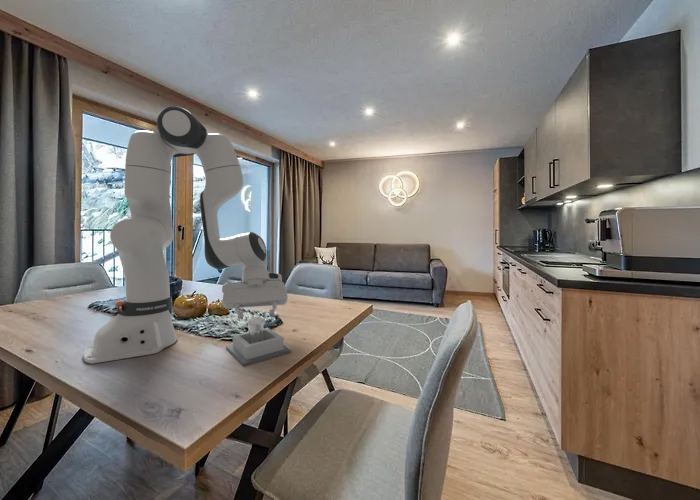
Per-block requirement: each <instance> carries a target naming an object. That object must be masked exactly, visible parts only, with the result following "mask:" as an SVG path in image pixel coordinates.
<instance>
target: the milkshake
mask: <svg viewBox="0 0 700 500" xmlns="http://www.w3.org/2000/svg"><path fill="white" fill-rule="evenodd" d="M265 318H266V316H264V318H262V317H259V316H253V317H251V318H250V319H248V320H247V327H248V332H249V340H250V344H252V343H256V342H260V341H262V339H263V328H264V325H265V324H264V323H265Z"/></svg>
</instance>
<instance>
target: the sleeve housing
mask: <svg viewBox="0 0 700 500" xmlns="http://www.w3.org/2000/svg"><path fill="white" fill-rule="evenodd" d="M284 341H285V337H283V336H281V335H280V334H278V333H277V332H276V331H274V330H272V329H271V328H269V327H263V339H262V341H260V342H256V343H252V344H250V340H249V331H246V332H240V333H237V334H232V344H230V345H226V346H225V349H226V351H228V352H229V354H231V355H232V356H233V358H234V359H235V360H236V361H237V362H238V363H239V364H240V365H242V367H245V366H248V365H252V364H256V363H259V362H262V361H265V360H269V359H273V358H278V357H280V356H283V355H286V354H290V353H291V352H292V349H290V348H289V347H287V346H286V345H285V343H284Z"/></svg>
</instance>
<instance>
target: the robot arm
mask: <svg viewBox="0 0 700 500" xmlns="http://www.w3.org/2000/svg"><path fill="white" fill-rule="evenodd" d="M156 127H157V130H153V131H151V130H137V131H135V132H133V133H132V134H131V135H130V137H129V141H128V143H127V144H128V145H127V150H126V153H125V154H126V155H125V164H124V165H125V168H124V171H125V172H124V196H125V198H126V200H127V203H128V207H129V211H130V216H129V217H127V218H124V219H122V220H120V221H118V222H117V223H115V224H114V225H113V226H112V228H111V231H110V235H109V239H110V241H111V244H112V245H113V247H114V248H115V249H116V250H117V253H118V257H119V260H120V262H121V266H122V269H123V274H124V286H125V300H117V301H116V302H115V308H116V309H117V315H116V316H114V317H113V318H112V319H110V320H109V321H107V323H105V324H103V325H102V326H101V327H100V328H98V329H97V331H96V332H95V335H94V338H93V343H92V345H89V346H88V347H87V348H85V349H84V351H83V356H82V357H83V361H84V362H85V363H87V364H92V365H93V364H98V363H105V362H111V361H117V360H118V361H119V360H123V359H129V358H136V357H141V356H148V355H153V354H157V353H159V352H161V351H162V350H163V349H165V348H167V347H169V346H171V345H173V344H175V343H176V342H177V340H178V336H177V334H176V332H175V328H174V323H173V319H172V314H173V299H172V296H171V290H170V271H169V269H168V268H167V264H166V260H165V259H166V258H165V255H164V250H165V249H167V248H168V247H169V246H170V245H171V244H172V242H173V240H174V237H175V232H174V228H173V227H174V226H173V217H172V210H171V200H170V199H171V197H170V195H171V194H170V193H171V192H170V191H171V170H172V169H171V168H172V167H171V165H172V160H173V158H178V157H179V158H181V157H186V156H187V157H189V156H194V155H196V156H197V157H198V158H199V161H200V163H201V165H202V170H203V173H204V176H205V177H204V178H205V185H204V189H203V190H202V191H201V192H200V195H199V207H200V216H201V225H202V231H203V239H204V241H203V242H204V256H205V257H204V259H205V260H206V263H207V264H208V266H210V267H212V268H213V269H216V270H218V271H221V270H224V269H227V268H229V267H233V266H236V265H237V266H238V265H240V264H241V268H242V271H241V280H240V281H227V282H225V283H224V284H222V287H221V292H222V293H223V295H222V307H223V308H225V309H226V310H227V309H234V312H235V314H236V315H237V318H238V319H237V320H244V311H240V309H241V308H242V309H243V308H254V307H256V308H257V307H269V306H272V309H269V314H268V315H269V318H274V317H275V312H276V309H277V308H278V306H281V305H282V306H283V305H286V304H287V302H288V299H289V298H288V297H289V296H288V291H287V287H286V284H285V283H284V281H283V276H282V274H280V273H276V272H271V271H269V270H268V269H267V267H268V256H267V247H266V243H265V241H264V239H263V238H262V237H261V236H260V235H258V234H257V233H255V232H253V231H249V232H244V233H239V234H236V235H232V236H227V237H223V238H222V237H221V236H220V229H219V220H218V212H219V210H220V208H221V207H222V206H223V205H224V204H226V203H228V201H230V200H231V199H233V198H234V197H236V196H237V195H238V194H239V193H240V191H241V190H242V188H243V185H244V177H243V172H242V168H241V164H240V161H239V159H238V155H237V153H236V150H235V148H234V146H233V144H232V142H231V141H230V139H229V138H228V137H227V136H226V135H225V134H223V133H222V134H221V133H215V132H214V133H208V132H207V131H208V130H207V128H206V127H205V126H204V125H203V124H202V123H201V122H200V121H199V120H198V119H197V118H196V116H195V115H194V114H192V113H191V112H190V111H189V110H187V109H185V108H183V107H181V106H175V105H173V106H168V107H164V108H163V109H162V110H161V111H160V112H159V114H158V115H157V119H156Z"/></svg>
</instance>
